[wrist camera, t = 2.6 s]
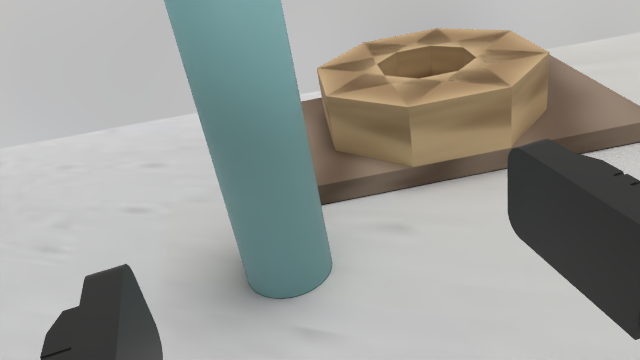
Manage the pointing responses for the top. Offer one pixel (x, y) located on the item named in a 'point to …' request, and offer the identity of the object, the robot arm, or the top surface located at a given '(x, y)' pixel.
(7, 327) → the top surface
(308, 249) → the teal bottle
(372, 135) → the tan octagonal ring
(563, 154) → the robot arm
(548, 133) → the board
